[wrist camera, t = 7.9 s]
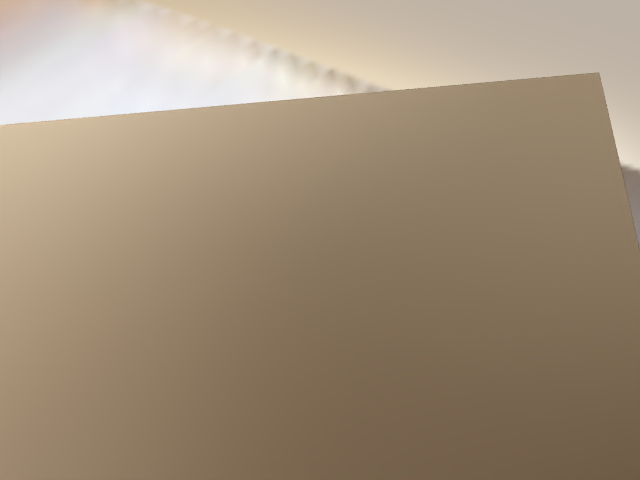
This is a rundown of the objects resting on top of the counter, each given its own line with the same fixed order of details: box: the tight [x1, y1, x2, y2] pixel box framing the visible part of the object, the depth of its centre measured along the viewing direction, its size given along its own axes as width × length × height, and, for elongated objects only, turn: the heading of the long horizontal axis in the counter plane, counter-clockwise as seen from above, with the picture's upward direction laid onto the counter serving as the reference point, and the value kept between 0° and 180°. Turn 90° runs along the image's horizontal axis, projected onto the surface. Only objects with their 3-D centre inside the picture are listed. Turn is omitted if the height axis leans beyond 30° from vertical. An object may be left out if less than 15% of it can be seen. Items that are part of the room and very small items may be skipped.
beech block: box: [0, 73, 640, 480], centre depth 9 cm, size 5×5×13 cm
